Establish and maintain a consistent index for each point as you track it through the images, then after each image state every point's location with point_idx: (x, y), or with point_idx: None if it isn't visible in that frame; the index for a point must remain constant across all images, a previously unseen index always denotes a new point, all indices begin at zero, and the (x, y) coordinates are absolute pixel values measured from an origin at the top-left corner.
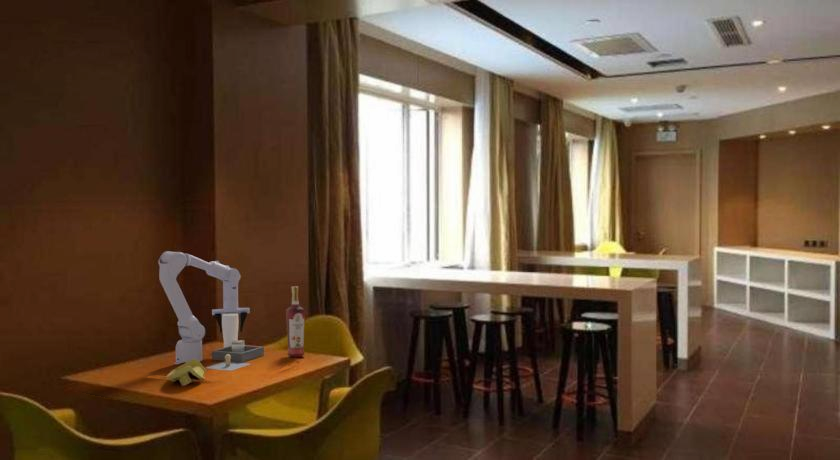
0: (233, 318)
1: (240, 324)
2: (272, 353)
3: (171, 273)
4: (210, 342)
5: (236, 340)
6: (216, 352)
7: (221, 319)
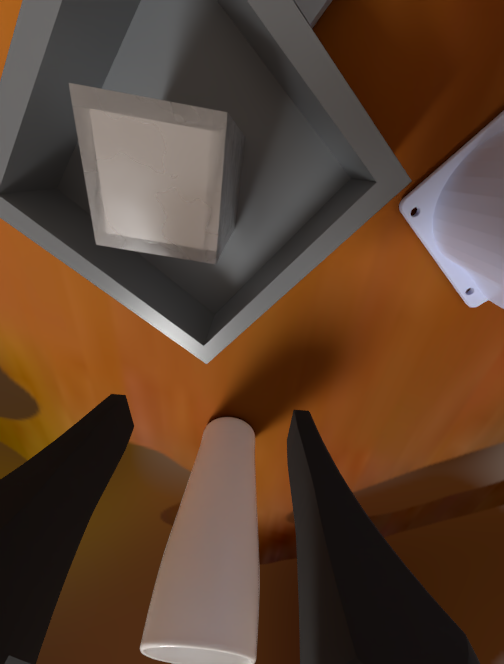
0: (177, 607)
1: (97, 483)
2: (29, 305)
3: None
4: (281, 524)
5: (172, 248)
6: (377, 138)
7: (336, 578)
